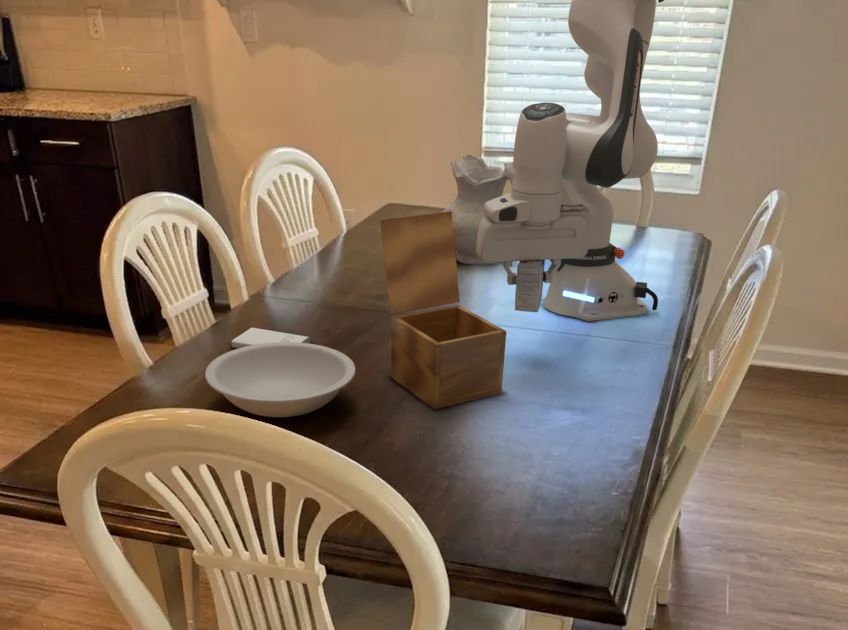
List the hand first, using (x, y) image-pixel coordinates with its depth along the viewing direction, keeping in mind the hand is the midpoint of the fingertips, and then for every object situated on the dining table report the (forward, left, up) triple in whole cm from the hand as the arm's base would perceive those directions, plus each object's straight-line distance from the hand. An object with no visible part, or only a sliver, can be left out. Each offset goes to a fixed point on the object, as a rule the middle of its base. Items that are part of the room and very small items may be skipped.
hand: (529, 283), depth 156 cm
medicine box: (0, 0, -4) cm, 4 cm away
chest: (+18, +12, -14) cm, 26 cm away
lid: (+21, +4, +5) cm, 22 cm away
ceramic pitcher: (-8, -64, -14) cm, 66 cm away
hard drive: (+47, -11, -14) cm, 51 cm away
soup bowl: (+46, +16, -14) cm, 51 cm away
